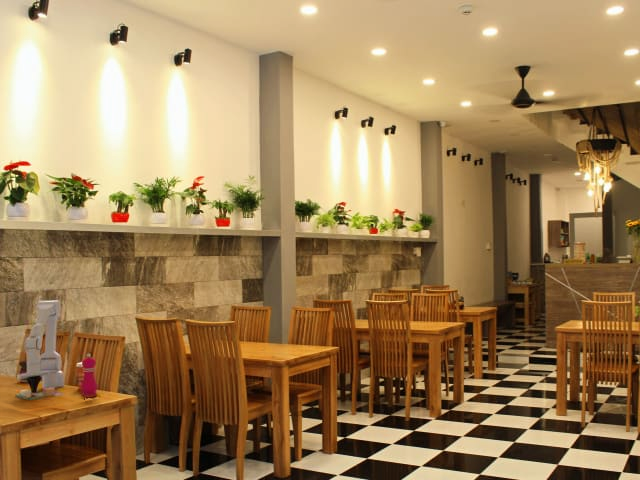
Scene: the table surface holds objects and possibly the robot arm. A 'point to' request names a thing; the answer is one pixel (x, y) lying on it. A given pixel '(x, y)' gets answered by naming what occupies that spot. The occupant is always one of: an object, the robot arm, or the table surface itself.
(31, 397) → the box
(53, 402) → the table surface
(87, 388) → the pepper mill
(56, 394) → the plate
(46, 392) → the terracotta block
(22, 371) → the cake
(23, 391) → the tile cream
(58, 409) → the table surface
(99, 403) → the table surface
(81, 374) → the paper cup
